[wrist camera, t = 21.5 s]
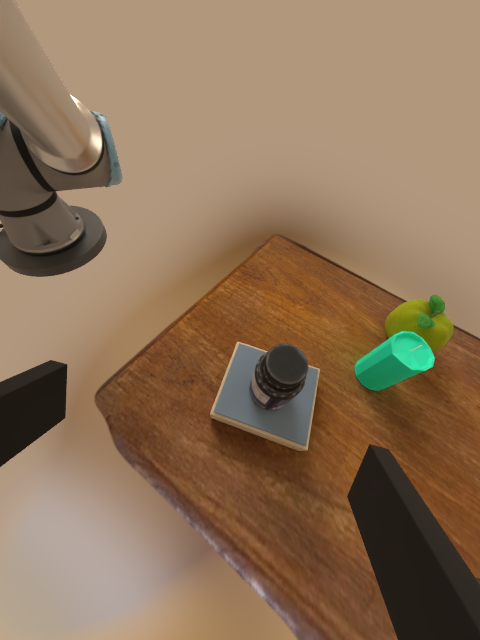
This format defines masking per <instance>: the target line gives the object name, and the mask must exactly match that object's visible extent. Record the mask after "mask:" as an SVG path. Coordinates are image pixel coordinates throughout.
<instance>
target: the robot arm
mask: <svg viewBox="0 0 480 640" xmlns="http://www.w3.org/2000/svg"><path fill="white" fill-rule="evenodd" d="M121 181H122V173H121V169H120V165H119V162H118V156H117V153H116V149H115V145H114V141H113V138H112V134H111V131H110V128H109V124H108V121H107V119H106V117H105V116H104V115H103V114H102V113H96V112H95V111H89V110H88V109H87V108H86V107H85V106H84V105H83V104H82V103H81V102H80V101H78V100H77V99H75V98H74V97H72V96H71V95H70V93H69V92H68V90H67V88H66V87H65V85H64V84H63V81H62V80H61V78H60V76H59V75H58V73H57V71H56V70H55V68H54V66H53V64H52V63H51V61H50V59H49V58H48V56H47V54H46V53H45V51H44V49H43V47H42V46H41V44H40V42H39V41H38V39H37V37H36V35H35V34H34V32H33V30H32V29H31V27H30V25H29V23H28V22H27V20H26V18H25V17H24V15H23V13H22V11H21V10H20V8H19V6H18V5H17V3H16V1H15V0H0V220H1V222H2V224H0V228H2V227H4V229H5V231H6V233H7V235H8V238H9V240H10V242H11V243H12V244H13V245H14V246H15V247H16V248H17V249H18V250H19V251H20V252H22V253H24V254H27V255H31V256H50V255H55V254H58V253H61V252H64V251H66V250H68V249H70V248H72V247H73V246H75V245H76V244H78V243H79V242H80V241H81V240H82V238H83V237H84V235H85V232H86V226H85V224H84V222H83V220H82V219H81V217H80V216H79V215H78V214H77V213H76V212H75V211H74V210H73V209H72V208H71V207H70V206H69V205H67V203H65V202H64V201H63V200H62V199H61V198H60V197H59V196H58V195H57V193H56V192H55V191H62V190H72V189H82V188H92V187H103V186H105V187H110V186H111V185H117V184H119V183H121ZM66 380H67V364H64V363H60V362H56V361H52V360H50V361H48V362H45V363H43V364H41V365H39V366H36V367H34V368H32V369H29V370H27V371H25V372H23V373H20V374H18V375H16V376H13V377H11V378H9V379H6V380H4V381H2V382H0V467H1V466H2V465H3V464H5V463H6V462H7V461H9V460H10V459H11V458H13V457H14V456H15V455H16V454H18V453H19V452H21V451H22V450H23V449H25V448H26V447H27V446H28V445H30V444H31V443H32V442H34V441H35V440H37V439H38V438H39V437H40V436H42V435H43V434H44V433H46V432H47V431H48V430H50V429H51V428H53V427H54V426H55V425H57V424H58V423H59V422H61V421H62V420H63V419H64V418H65V410H66V383H67V381H66ZM347 497H348V500H349V503H350V505H351V508H352V511H353V514H354V517H355V520H356V522H357V525H358V528H359V531H360V534H361V537H362V539H363V542H364V545H365V548H366V551H367V553H368V556H369V559H370V562H371V565H372V568H373V570H374V573H375V576H376V579H377V582H378V584H379V587H380V590H381V593H382V596H383V599H384V601H385V604H386V607H387V610H388V613H389V615H390V618H391V621H392V624H393V627H394V630H395V632H396V635H397V638H398V640H480V579H479V578H475V577H474V575H473V574H472V572H471V571H470V569H469V568H468V566H467V565H466V563H465V562H464V560H463V559H462V557H461V556H460V554H459V553H458V551H457V550H456V548H455V547H454V546H453V544H452V543H451V541H450V540H449V538H448V537H447V535H446V534H445V532H444V531H443V529H442V528H441V526H440V525H439V523H438V522H437V520H436V519H435V517H434V516H433V514H432V513H431V511H430V510H429V508H428V507H427V505H426V504H425V502H424V501H423V499H422V498H421V496H420V495H419V494H418V492H417V491H416V489H415V488H414V486H413V485H412V483H411V482H410V480H409V479H408V477H407V476H406V474H405V473H404V471H403V470H402V468H401V467H400V465H399V464H398V462H397V461H396V459H395V458H394V456H393V455H392V453H391V452H390V450H389V449H386V448H382V447H378V446H374V445H369V447H368V449H367V452H366V454H365V456H364V459H363V461H362V463H361V466H360V468H359V470H358V472H357V475H356V477H355V479H354V482H353V484H352V486H351V489H350V491H349V493H348V496H347Z"/></svg>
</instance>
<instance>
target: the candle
mask: <svg viewBox="0 0 480 640" xmlns="http://www.w3.org/2000/svg"><path fill="white" fill-rule="evenodd" d="M434 360H435V357H434V355H433V353H432V351H431V348H430V347H429V346H428V344H427V343H426V342H425V341H424V339H423V338H421V337H420V336H419V335H417V334H416V333H414V332H408V331H401V332H399V333H397V334H395V335H393V336H392V337H390V338H389V339H388V340H386V341H385V342H383V343H382V344H381V345H379V346H378V347H376V348H375V349H374V350H372V351H371V352H369V353H368V354H367V355H365V356H364V357H363V358H361V359H360V360H358V361H357V363H356V365H355V367H354V369H355V375H356V377H357V379H358V380H359V382H360V383H361V384H362V385H363V386H365V387H366V388H368V389H370V390H376V391H380V390H382V389H384V388H387V387H389V386H391V385H394V384H396V383H398V382H401V381H403V380H405V379H407V378H410V377H412V376H414V375H417V374H419V373H421V372H424V371H426V370H428V369H429V368H431V367H433V364H434Z"/></svg>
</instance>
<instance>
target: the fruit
mask: <svg viewBox="0 0 480 640" xmlns="http://www.w3.org/2000/svg"><path fill="white" fill-rule="evenodd" d="M444 309H445V303H444V301H443V300H442V299H441V298H440V297H439V296H437V295H433V296H431V297H430V301H429V302H427V301H425V300H413V301H408V302H405V303H403V304H401V305H400V306H398V307H397V308H396V309H395V310H393V311H392V312H391V313H390V314H389V316H388V317H387V319H386V321H385V331H386V334H387V337H388V339H389V338H390V337H392V336H393V335H395V334H397V333H399V332H401V331H408V332H414V333H416V334H417V335H419V336H420V337H421V338H423V339H424V341H425V342H426V343H427V344H428V346H429V347H430V348H431V351H432V352H435V351H437V350H439V349H441V348H442V347H443V346H444V345H445V344H446V343H447V341H448V340H449V339H450V338H451V336H452V334H453V330H454V327H453V324H452V322H451V321H450V320H449V319H448V318H447V317H446V315H445V314H444V313H443V311H444Z"/></svg>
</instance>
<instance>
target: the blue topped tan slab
mask: <svg viewBox="0 0 480 640" xmlns="http://www.w3.org/2000/svg"><path fill="white" fill-rule="evenodd" d="M266 352H267V351H264V350H261V349H258V348H255V347H252V346H249V345H246V344H243V343H240V342H237V344H236V347H235V349H234V352H233V355H232V357H231V360H230V362H229V365H228V368H227V370H226V373H225V376H224V378H223V381H222V384H221V386H220V389H219V391H218V394H217V397H216V399H215V402H214V405H213V407H212V410H211V412H210V415H211V418H213V419H215V420H218V421H221V422H223V423H226V424H229V425H231V426H234V427H236V428H239V429H242V430H244V431H247V432H250V433H252V434H255V435H258V436H260V437H263V438H266V439H268V440H271V441H274V442H276V443H279V444H281V445H284V446H287V447H289V448H292V449H295V450H297V451H306V450H308V444H309V437H310V431H311V424H312V418H313V411H314V405H315V398H316V392H317V385H318V379H319V372H320V369H318V368H315V367H312V366H309V365H308V372H307V375H306V382H305V385H304V387H303V389H302V390H301V392H299V394H298V395H296V396H295V397H294V398H293V399H292V400H291V401H289V402H288V403H287V404H286V405H285V406H283V407H282V408H280V409H278V410H266V409H264V408H261V407H259V406H258V405H257V404H256V403H255V402H254V400H253V399H252V397H251V395H250V390H249V387H250V382H251V379H252V376H253V373H254V370H255V367H256V364H257V362H258V360H259V358H260V357H261V356H262V355H263V354H264V353H266Z"/></svg>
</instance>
